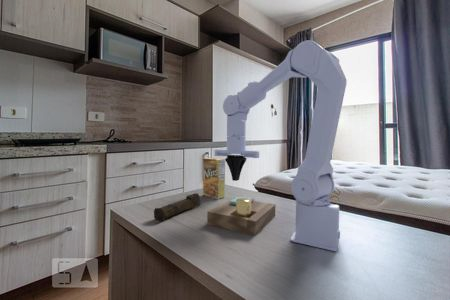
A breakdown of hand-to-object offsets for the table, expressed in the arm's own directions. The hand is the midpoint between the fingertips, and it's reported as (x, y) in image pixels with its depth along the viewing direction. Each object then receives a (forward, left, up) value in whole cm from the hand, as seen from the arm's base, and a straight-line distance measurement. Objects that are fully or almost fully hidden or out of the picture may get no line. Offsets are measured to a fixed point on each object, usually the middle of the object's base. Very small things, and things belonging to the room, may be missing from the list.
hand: (235, 180), depth 69 cm
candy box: (+16, -13, -11) cm, 24 cm away
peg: (-7, +8, -10) cm, 15 cm away
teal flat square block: (-2, 0, -7) cm, 7 cm away
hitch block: (-5, +4, -10) cm, 12 cm away
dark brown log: (+16, +8, -11) cm, 21 cm away
